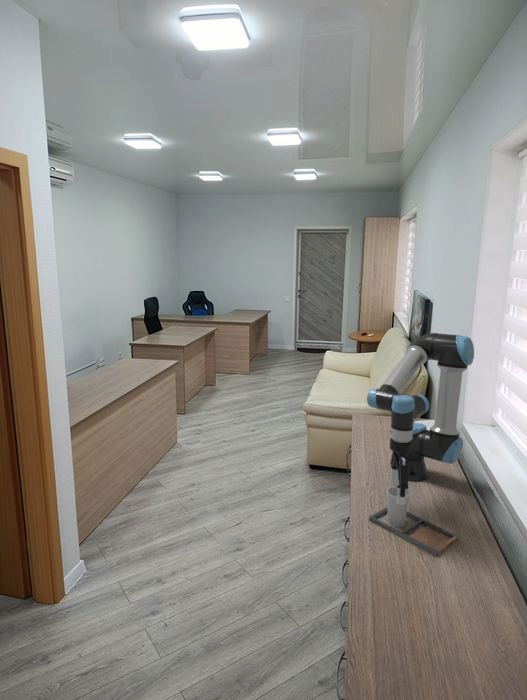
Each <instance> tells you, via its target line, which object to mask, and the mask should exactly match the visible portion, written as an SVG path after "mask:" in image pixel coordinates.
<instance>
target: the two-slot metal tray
mask: <svg viewBox="0 0 527 700" xmlns="http://www.w3.org/2000/svg"><path fill="white" fill-rule="evenodd" d="M386 514H388V513H387V506H386V507H384V508H383V509H380V510H379V511H377V512H375V513H373V514H371V515H370V516H368V521H369V522H372V523H373V524H375V525H377V526H379V527H380V528H382V529H384V530H386V531H388V532H390V533H392V534H394V535H395V536H397V537H399V538H401V539H403V540H405V541H407V542H408V543H410V544H412V545H413V546H416V547H418V548H419V549H421V550H422V551H425V552H427V553H429V554H431V555H433V556H434V557H437V556H439V555H441V554H442V553H443V552H444V551H446V550H447V549H449V548H450V547H451V546H452V545H454V544H455V543H457V542H458V541H459V538H460V537H459V535H457V534H454V533H453V532H450V531H449V530H447V529H444V528H442V527H440V526H438V525H436V524H433V523H431V522H430V521H427V520H425V519H423V518H421V517H419V516H417V515H415V514H413V513H410V512H408V511H407V514H406V518H408V519H411V520H412V521H415V522H414V523H413V524H411V525H409V526H408V527H406V528H405V529H403V530H402V531H400V530H398V529H397V528H396V527H394V526H392V525H390V524H387V523H385V522H384V521H382V520H381V519H380V520H379V518H380V517H382V516H384V515H386ZM421 526H422V527H421ZM418 528H419V529H418ZM416 529H417V530H416ZM411 532H412V533H411ZM410 533H411V534H410Z"/></svg>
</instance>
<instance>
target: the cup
mask: <svg viewBox="0 0 527 700" xmlns="http://www.w3.org/2000/svg"><path fill="white" fill-rule="evenodd" d="M397 495H398V488H397V487H396V486H390V487H388V488H387V489H386V502H387V504H386V505H387V506H386V507H387V513H386V514H387V523H388V525H389V526H391V527H394V528H402V527H405V525H406V520H407V519H406V518H407V517H406V514H407V512H408V508H409V507H408V506H409V500H410V491H409V490H408V489H406V502H405V505H397Z"/></svg>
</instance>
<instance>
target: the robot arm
mask: <svg viewBox="0 0 527 700" xmlns="http://www.w3.org/2000/svg"><path fill="white" fill-rule="evenodd" d="M404 353H405V354H404V356H403V357H402V358H401V360H400V361H399V362H398V364H397V365H396V366H394V368H393V370H392V371H391V372H390V374H389V376H387V378H386V379H385V380H384V382H383V383H382V384H381V386H380V387H379V388H377V387H376V388H373V387H372V388H370V390H369V391H368V392H367V396H366V403H367V405H368V407H371V408H373V409H377V410H381V411H385V412H390V413H391V418H390V419H391V421H390V429H389V430H388V432H389V433H390V439H389V449H390V450H391V451H392V454H391V458H390V463H389V464H390V468H391V470H390V482H389V483H390V485H389V486H390V487H397V488H398V495H397V505H405V502H406V490H408V489H409V482H420V481H424V480H426V479H427V477H428V469H427V465H426V461H425V458H428V459H431V460H435V461H437V462H441V463H445V464H450V465H453V464H454V463H456V462H457V461H458V459H459V458H460V456H461V453H462V451H463V447H464V439H463V438H462V437H460V431H459V430H458V429H457V422H458V414H459V406H460V398H461V389H462V383H463V382H462V380H463V373H464V372H466V370H467V369H468V366H471V365H472V364H473V362H474V358H475V347H474V342H473V340H472V339H471V338H470V337H469V336H466V335H460V334H449V333H448V334H446V333H438V332H431V333H430V332H429V333H426V334H424V335H422V336H419V337H418V338H416V339H414V340H413V341H412V342H411V343H410V344H409V345H408V346H407V347H406V349H405V352H404ZM427 361H437V364H436V365H437V367H438V368H439V370H440V371H439V374H440V375H439V382H438V389H437V390H438V391H437V398H436V399H437V400H436V407H435V415H434V424H433V425H432V426H430V427H429V430H428V429H427V426H426V424H423V423H419V422H414V421H415V419H417V418H419V417H421V416H423V415H425V414H426V413H427V412H428V411H429V408H430V402H429V400H428V398H427V397H426V396H424V395H423V394H413V395H410V394H403V393H402V391H404V389H405V388H406V386H407V385H408V383H409V382H410V381H411V379H412V378H413V376H414V375H415V374H416V372H417V370H419V368H420V366H421V365H424V364H425V363H426V362H427Z"/></svg>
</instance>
